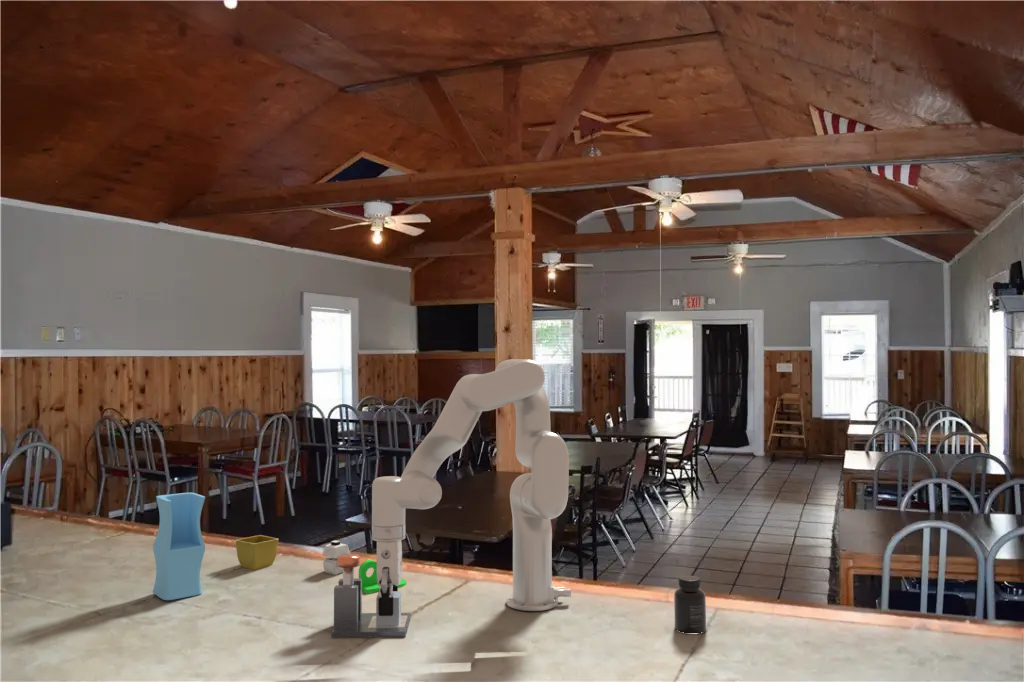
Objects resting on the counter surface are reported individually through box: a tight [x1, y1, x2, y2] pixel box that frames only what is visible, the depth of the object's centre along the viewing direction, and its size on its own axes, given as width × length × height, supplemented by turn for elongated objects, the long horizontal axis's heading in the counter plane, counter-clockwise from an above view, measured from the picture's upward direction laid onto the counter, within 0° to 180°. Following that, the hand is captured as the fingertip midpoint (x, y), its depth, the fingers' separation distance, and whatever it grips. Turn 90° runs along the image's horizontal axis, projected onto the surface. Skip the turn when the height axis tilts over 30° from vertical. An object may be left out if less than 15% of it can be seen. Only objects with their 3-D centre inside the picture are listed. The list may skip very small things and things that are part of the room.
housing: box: [375, 590, 402, 625], centre depth 178 cm, size 5×5×6 cm
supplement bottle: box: [673, 575, 707, 633], centre depth 175 cm, size 7×7×12 cm
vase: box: [152, 492, 206, 601], centre depth 205 cm, size 10×10×25 cm
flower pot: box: [235, 534, 279, 571], centre depth 227 cm, size 9×9×9 cm
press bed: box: [331, 577, 412, 639], centre depth 178 cm, size 16×13×10 cm
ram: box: [337, 553, 361, 585], centre depth 178 cm, size 5×5×12 cm
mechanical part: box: [358, 559, 408, 595], centre depth 207 cm, size 12×6×8 cm, turn 120°
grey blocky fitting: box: [322, 540, 351, 575], centre depth 220 cm, size 6×7×10 cm
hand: (388, 608), depth 178 cm, fingers open, 8 cm apart
